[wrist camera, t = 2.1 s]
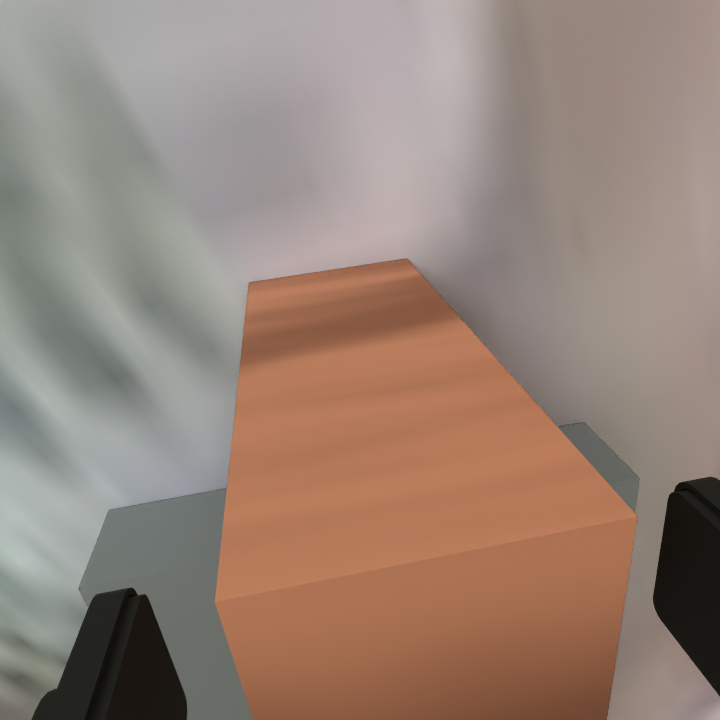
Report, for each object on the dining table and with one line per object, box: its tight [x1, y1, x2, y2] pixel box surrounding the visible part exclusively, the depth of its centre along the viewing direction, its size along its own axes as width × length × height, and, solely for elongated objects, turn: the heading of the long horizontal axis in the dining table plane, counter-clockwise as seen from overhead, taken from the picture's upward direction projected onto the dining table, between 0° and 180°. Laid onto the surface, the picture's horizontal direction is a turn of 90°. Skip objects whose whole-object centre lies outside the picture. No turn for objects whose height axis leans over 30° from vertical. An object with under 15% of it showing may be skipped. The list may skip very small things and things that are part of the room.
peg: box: [215, 259, 638, 720], centre depth 13 cm, size 5×5×12 cm
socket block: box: [78, 422, 640, 720], centre depth 23 cm, size 18×18×4 cm
